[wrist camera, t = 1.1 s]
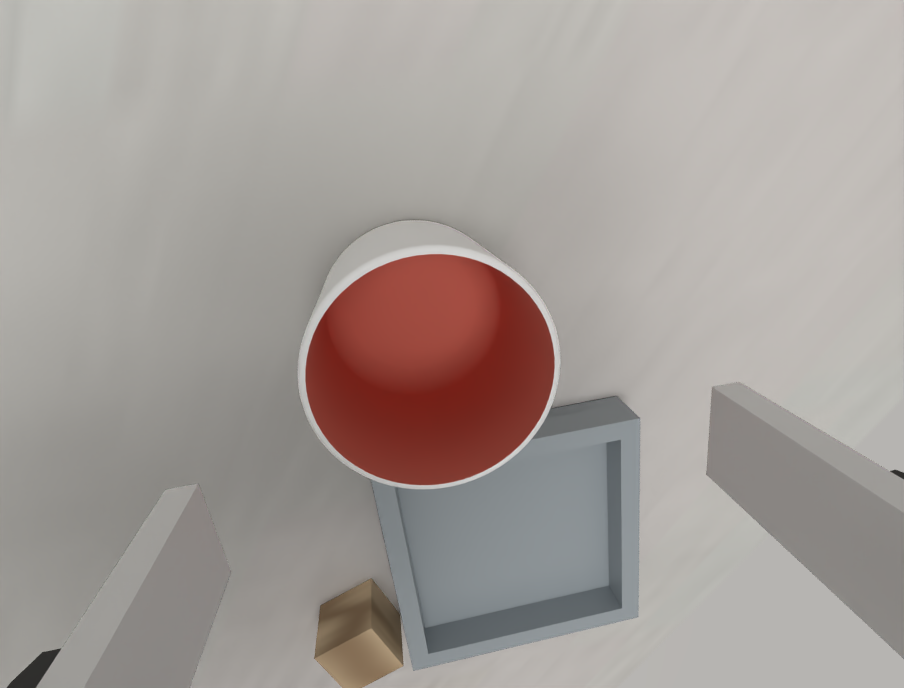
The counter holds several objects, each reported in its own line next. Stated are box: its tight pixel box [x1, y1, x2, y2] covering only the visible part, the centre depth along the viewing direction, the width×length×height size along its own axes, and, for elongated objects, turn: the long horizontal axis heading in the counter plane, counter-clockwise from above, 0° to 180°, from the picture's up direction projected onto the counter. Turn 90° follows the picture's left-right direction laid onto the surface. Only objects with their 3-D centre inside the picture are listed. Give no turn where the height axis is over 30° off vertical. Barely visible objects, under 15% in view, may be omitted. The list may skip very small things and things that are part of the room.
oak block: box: [314, 579, 403, 688], centre depth 33 cm, size 4×4×4 cm
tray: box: [371, 396, 640, 671], centre depth 32 cm, size 16×16×3 cm
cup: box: [297, 220, 561, 489], centre depth 23 cm, size 10×10×10 cm
